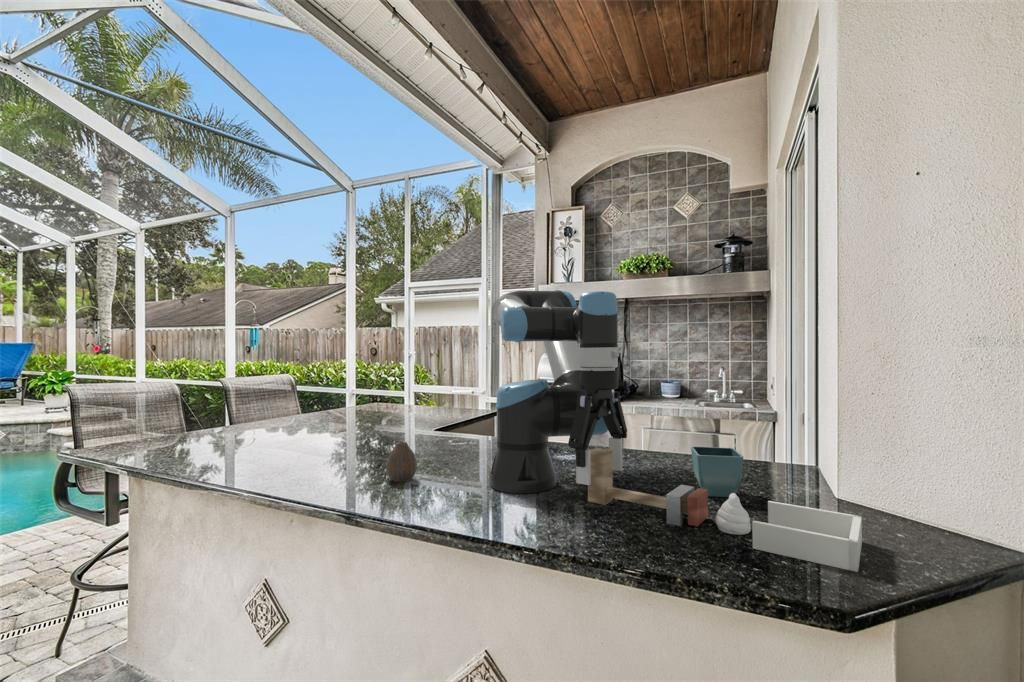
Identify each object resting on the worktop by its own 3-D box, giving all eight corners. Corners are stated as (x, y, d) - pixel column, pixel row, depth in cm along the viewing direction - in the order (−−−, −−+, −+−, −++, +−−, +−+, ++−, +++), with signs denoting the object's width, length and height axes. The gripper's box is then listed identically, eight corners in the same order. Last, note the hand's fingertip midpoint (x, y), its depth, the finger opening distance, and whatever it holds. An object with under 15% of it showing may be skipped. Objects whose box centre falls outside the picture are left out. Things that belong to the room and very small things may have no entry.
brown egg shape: (403, 474, 118) (403, 438, 118) (423, 479, 114) (422, 441, 114) (380, 481, 113) (380, 443, 113) (400, 485, 109) (400, 446, 109)
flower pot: (745, 502, 95) (744, 456, 96) (698, 499, 97) (697, 454, 97) (734, 489, 104) (733, 447, 104) (691, 487, 106) (690, 446, 106)
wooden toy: (584, 502, 95) (584, 451, 95) (599, 495, 100) (598, 446, 100) (697, 527, 82) (696, 467, 82) (708, 517, 86) (707, 461, 86)
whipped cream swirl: (754, 499, 78) (718, 498, 79) (755, 537, 78) (719, 534, 79) (745, 490, 83) (711, 488, 84) (745, 525, 83) (712, 523, 84)
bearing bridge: (666, 523, 84) (666, 494, 84) (681, 511, 90) (681, 484, 90) (680, 526, 83) (680, 496, 83) (694, 514, 89) (694, 486, 89)
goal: (752, 548, 73) (752, 521, 73) (769, 523, 83) (768, 500, 83) (858, 572, 65) (857, 542, 65) (862, 541, 75) (861, 516, 75)
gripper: (584, 371, 84) (586, 494, 84) (641, 367, 104) (643, 466, 103) (548, 371, 89) (550, 487, 88) (610, 367, 109) (611, 462, 108)
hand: (600, 476), depth 96 cm, fingers open, 13 cm apart
